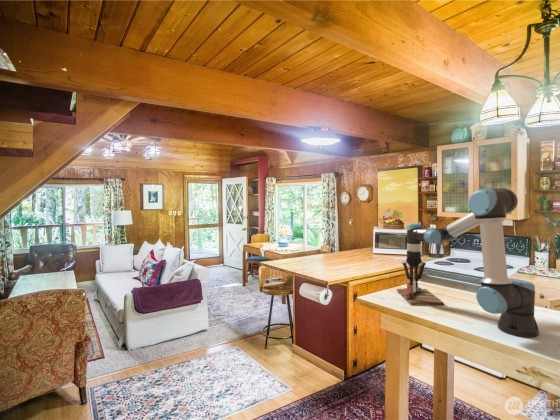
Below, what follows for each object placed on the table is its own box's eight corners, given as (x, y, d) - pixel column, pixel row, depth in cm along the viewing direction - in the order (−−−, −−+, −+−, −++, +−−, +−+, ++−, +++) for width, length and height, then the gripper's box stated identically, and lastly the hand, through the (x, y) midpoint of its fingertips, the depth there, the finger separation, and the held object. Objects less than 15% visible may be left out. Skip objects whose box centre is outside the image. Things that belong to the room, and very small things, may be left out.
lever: (412, 299, 187) (412, 288, 187) (402, 297, 191) (402, 286, 190) (422, 291, 203) (422, 280, 202) (413, 289, 206) (413, 279, 206)
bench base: (443, 305, 183) (444, 288, 182) (410, 305, 184) (410, 288, 183) (425, 291, 209) (426, 276, 208) (396, 291, 210) (397, 276, 209)
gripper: (423, 249, 192) (422, 289, 193) (400, 249, 193) (399, 289, 194) (428, 251, 185) (427, 293, 186) (404, 251, 185) (404, 293, 187)
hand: (413, 291), depth 190 cm, fingers closed
